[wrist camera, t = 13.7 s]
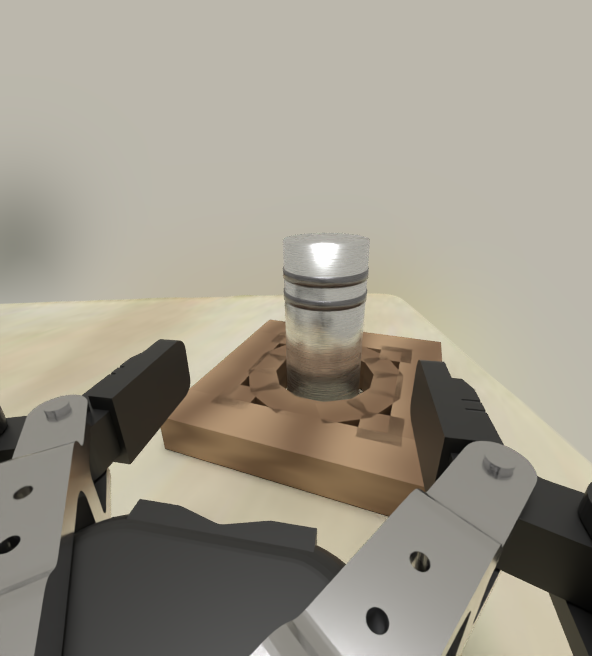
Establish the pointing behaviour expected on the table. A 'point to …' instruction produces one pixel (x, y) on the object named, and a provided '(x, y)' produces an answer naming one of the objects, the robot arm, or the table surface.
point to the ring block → (309, 422)
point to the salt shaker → (324, 313)
